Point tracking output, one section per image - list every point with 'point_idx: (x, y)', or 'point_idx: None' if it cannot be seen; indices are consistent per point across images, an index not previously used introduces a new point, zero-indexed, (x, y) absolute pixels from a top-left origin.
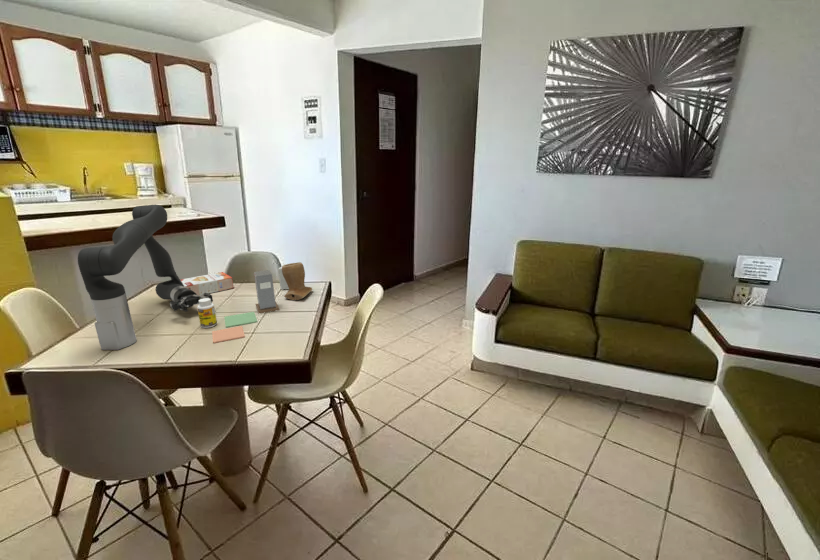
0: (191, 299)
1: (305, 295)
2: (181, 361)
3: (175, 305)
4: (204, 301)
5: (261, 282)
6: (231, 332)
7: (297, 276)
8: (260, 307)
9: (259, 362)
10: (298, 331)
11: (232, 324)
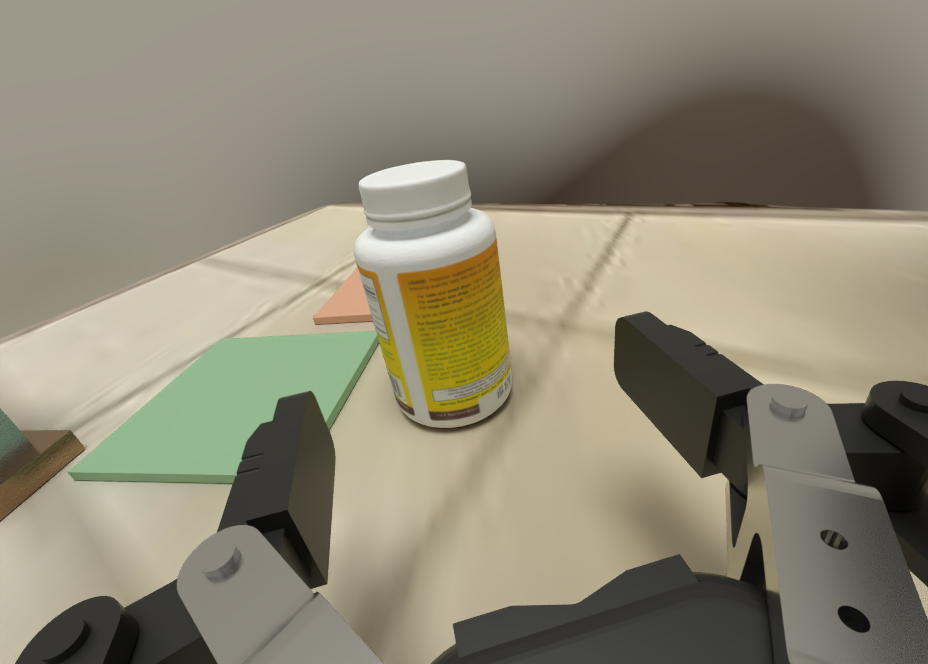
0: (593, 614)
1: None
2: (580, 214)
3: (876, 398)
4: (424, 162)
5: None
6: None
7: None
8: (18, 431)
9: None
10: (217, 265)
11: (337, 341)
